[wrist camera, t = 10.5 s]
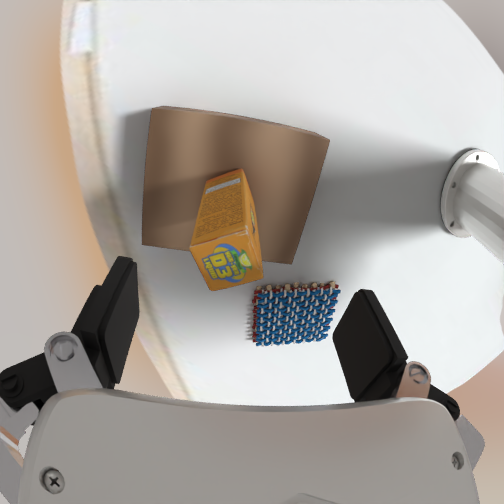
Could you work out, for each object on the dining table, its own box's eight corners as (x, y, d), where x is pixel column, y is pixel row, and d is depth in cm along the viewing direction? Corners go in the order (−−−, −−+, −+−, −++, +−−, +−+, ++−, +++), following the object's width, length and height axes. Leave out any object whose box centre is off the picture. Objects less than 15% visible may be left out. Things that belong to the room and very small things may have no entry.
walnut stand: (315, 132, 24) (330, 140, 20) (284, 243, 30) (291, 264, 27) (163, 105, 21) (151, 108, 18) (151, 224, 27) (141, 244, 24)
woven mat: (252, 281, 33) (253, 292, 31) (337, 277, 34) (342, 287, 32) (250, 338, 39) (252, 349, 37) (322, 333, 39) (326, 343, 38)
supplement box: (201, 180, 22) (184, 244, 13) (242, 166, 21) (254, 222, 13) (215, 216, 23) (210, 295, 15) (254, 203, 23) (272, 278, 15)
